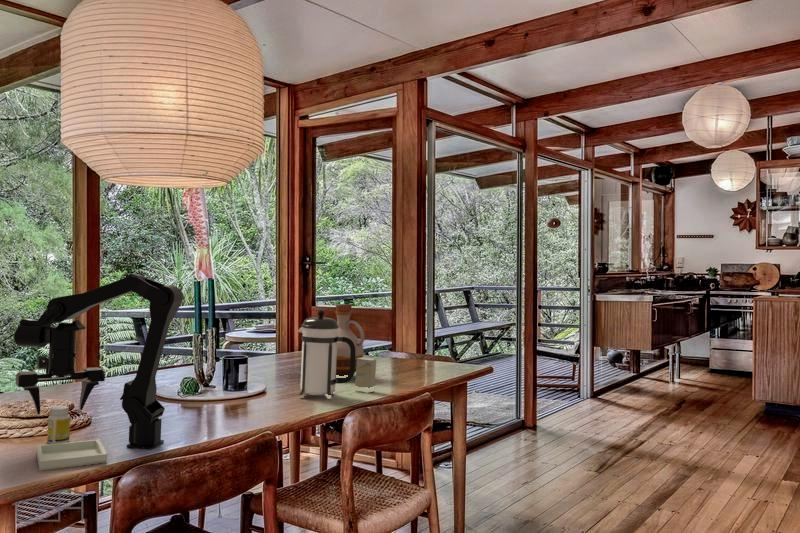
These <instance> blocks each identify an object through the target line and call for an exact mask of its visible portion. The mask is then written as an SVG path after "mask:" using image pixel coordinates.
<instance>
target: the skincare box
mask: <svg viewBox="0 0 800 533" xmlns="http://www.w3.org/2000/svg"><path fill="white" fill-rule="evenodd" d="M376 369H377V359H376V358H371V357H370V358H369V357H364V356H363V357H362V358H357V366H356V372H355V379H354V380H355V382H354V383H355V384H354V387H355V386H358V387H368V388H370V387H373V386H375V387H376V384H375V383H376V371H377V370H376Z"/></svg>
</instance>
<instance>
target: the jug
mask: <svg viewBox="0 0 800 533" xmlns="http://www.w3.org/2000/svg"><path fill="white" fill-rule="evenodd" d="M352 307H353V305H352V304H335V309H336V310H335V316H336V321H337V324H338V325H339V328H338V333H337V336H338V337H347V338H349V339H351V340H352V341H353V343H354V345H355V372H354V374H356V366H357V358H362V357H363V358H364V354H365V353H364V351H365V350H364V345H363V344H364V341H365V332H364V329H363V328H362V326H361V325H360V324H359V323H358V322H357V321H355V320H354V319H353V320H350V317H351V315H352V311H351V310H352ZM350 325H354V327H356V328H357V330H358V332H359V334H360V339H359V338H358V337H357V336H356V335H355V333H353V331H352V330H351V329H350ZM349 373H350V346H349V345H348V344H347V343H346V342H340V341H337V357H336V375H339V376H344V375H349Z"/></svg>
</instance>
